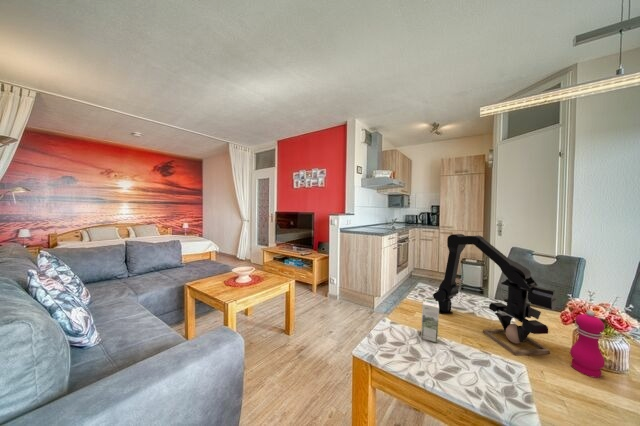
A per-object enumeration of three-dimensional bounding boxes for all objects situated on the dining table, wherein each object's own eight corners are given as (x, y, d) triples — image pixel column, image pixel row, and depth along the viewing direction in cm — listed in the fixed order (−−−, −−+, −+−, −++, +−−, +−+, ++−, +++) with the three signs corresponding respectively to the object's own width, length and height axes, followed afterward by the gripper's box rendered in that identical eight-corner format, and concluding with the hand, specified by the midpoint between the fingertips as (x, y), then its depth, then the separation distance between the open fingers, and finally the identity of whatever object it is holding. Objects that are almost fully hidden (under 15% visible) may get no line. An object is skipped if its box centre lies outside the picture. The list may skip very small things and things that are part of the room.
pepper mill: (591, 365, 75) (596, 307, 74) (610, 381, 68) (616, 318, 67) (563, 360, 77) (567, 304, 76) (579, 375, 70) (584, 314, 69)
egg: (504, 342, 87) (505, 324, 86) (505, 336, 90) (506, 319, 90) (523, 348, 83) (524, 329, 83) (523, 342, 87) (524, 324, 86)
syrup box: (436, 335, 90) (438, 300, 89) (437, 343, 85) (439, 306, 84) (421, 331, 93) (422, 297, 92) (421, 339, 87) (422, 303, 87)
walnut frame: (514, 355, 79) (515, 352, 79) (482, 332, 93) (482, 329, 93) (550, 353, 80) (550, 350, 80) (513, 331, 94) (513, 328, 94)
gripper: (563, 310, 77) (560, 353, 78) (512, 289, 96) (510, 324, 97) (535, 310, 76) (531, 354, 77) (489, 289, 95) (486, 324, 96)
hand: (514, 337), depth 87 cm, fingers closed on egg, 5 cm apart
